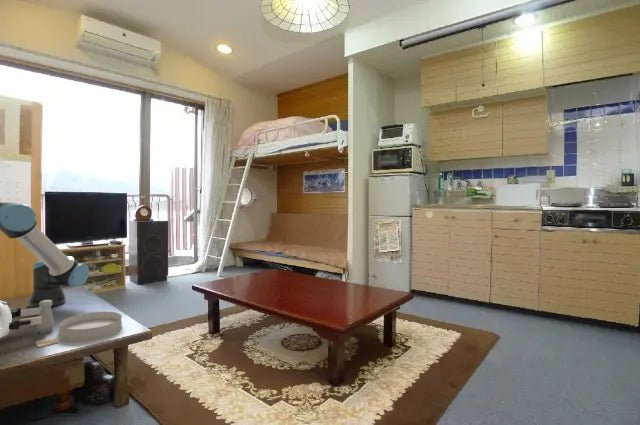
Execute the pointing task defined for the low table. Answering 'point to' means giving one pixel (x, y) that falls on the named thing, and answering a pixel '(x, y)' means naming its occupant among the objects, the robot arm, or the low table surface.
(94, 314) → the dish
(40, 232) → the robot arm
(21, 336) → the low table surface
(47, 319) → the salt shaker
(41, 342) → the cork coaster
